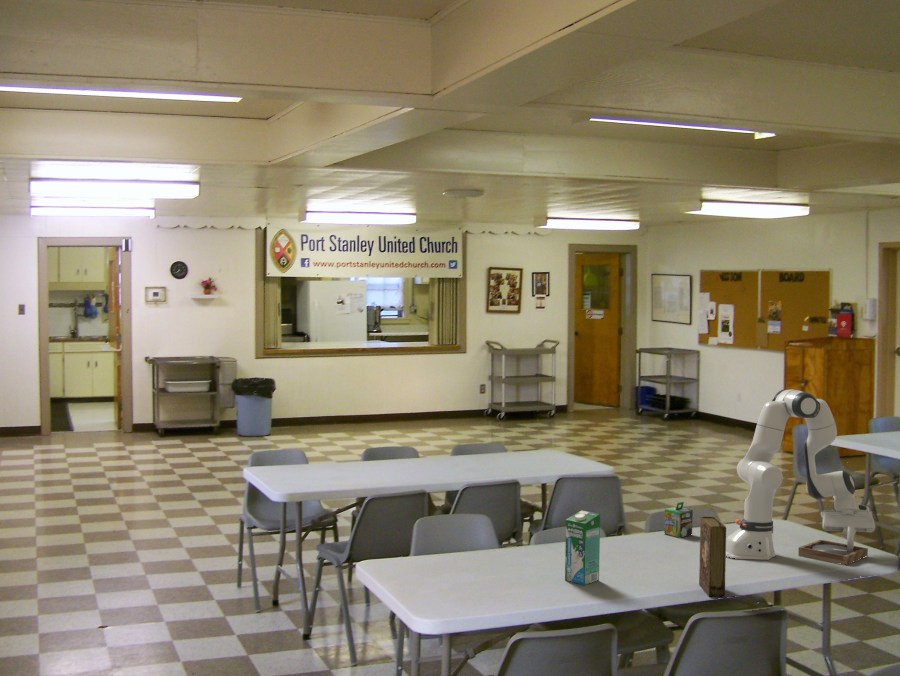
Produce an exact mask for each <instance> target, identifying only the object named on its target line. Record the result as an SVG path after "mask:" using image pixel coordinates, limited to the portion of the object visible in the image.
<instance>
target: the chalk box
mask: <svg viewBox="0 0 900 676" xmlns="http://www.w3.org/2000/svg"><path fill="white" fill-rule="evenodd" d="M684 503H685V502H684V501H681V502H677V504H676V506H672V507H669V508H665V509H664V529H663V531H664V533H665V534H664V533H663V534H664V535H666V534H668V535H667V536H670V535H671V536H670V537H674V536H676V538H678V537H681V538H685V537H684V536H686V537H689V536H688V535H691V534H692V535H693V513H694V510H693V509H689V508H685V507H684ZM692 535H691V536H692Z"/></svg>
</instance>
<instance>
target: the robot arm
mask: <svg viewBox="0 0 900 676" xmlns="http://www.w3.org/2000/svg"><path fill="white" fill-rule="evenodd" d="M790 417H793V418H800V419H804V421H805V424H806V427H807V431H808V432H807V433H808V434H807V438H806V439H805V440H804V441H803V456H804V457H803V458H804V468H805V474H806V475H805V476H806V484H805V486H806V491H807V494H808V495H809V497H811V498H813V499H814V500H821V499H825V498H830V497H833V500H834V502H833V506H834V507H833V508H834V509H825V508H824V509H823V510H821V511H820V517H821V519H822V529H823V530H824V531H828V532H829V531H830V532H842V533H843V535H844V536H845V538H847V534H848V526H852V527H854V536H855V535H856V534H857V532H858V533H874V532H875V530H876V524H875V523H876V522H875V519H874V517H873V515H872V513H871V512H870V507H869V506H866V505H863V504H861V503H859V502H858V503H857V501H856V498H855V497H856V485H855V479H854V477H853V475H852V474H851V473H849V472H848V471H846V470H837V471H832V472H827V473H821V474H820V473H817V469H816V468H817V467H816V466H817V465H816V458H815V457H816V455H817V453H819V452H820V451H822V450H824V449H825V448H827V447H829V446H830V445H831V444H832V443H833V442H834V441H835V440H836V438H837V436H838V429H837V424H836V420H835V418H834V416H833V413H832V411H831V408H830V406H829V405H828V403H827V401H826V400H824V399H822V398H816V397H815V396H814V395H813V394H811V393H809V392H805V391H802V390H799V389H790V388H785V389H781V390H779V391H777V393H776V394H775V395H774V397H773V398H772V400H770V401H767V402H765V403H764V405H763V407H762V408H761V411H760V414H759V416H758V419H757V423H756V427H755V431H754V434H753V437H752V441H751V444H750V447H749V448H748V450H747V452H746V454H745V455H744V456H743V458H741V460H739V462H738V463H737V465H736V473H737V476H738V477H739V478H740V479H741V480H742V481H743V482H745V483H746V484H749V485H750V489H749V493H748V495H747V497H745V499H744V509H743V512H744V514H743V515H744V516H743V519H742V520H740V519H739V518H738V519H737V518H736V519H735V521H734V522H735V524H736V525H739V527H738V528H737V529H736V530H735V531H734V532H732V533H730V535H728V536H726V556H727V557H726V558H728V557H730V558H729V559H732V558H735V559H734V560H762V561H764V560H767V561H768V560H771V558H774V557H775V556H776V552H775V548H774V541H773V534H774V521H773V507H774V506H773V505H774V499H775V496H776V492H777V489H778V488H779V487H780V486H781V485H782V483H783V480H784V475H783V473H782V471H781V469H780V468H779V467H778V466H777V465H775V464H773V463H771V461H772V459H773V457H774V456H775V455H776V454H777V452H779V451H780V449H781V445H782V441H783V439H784V433H785V431H786V424H787V422H788V420H789V418H790Z"/></svg>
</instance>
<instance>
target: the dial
mask: <svg viewBox="0 0 900 676" xmlns="http://www.w3.org/2000/svg"><path fill="white" fill-rule="evenodd" d="M847 533H848V534H847V537H846V544H847V547H843V546H838V545H815V546H813V547H812V549H814V550H819V551H825V552H830V553H835V554H840V555H847V554H850V553H852V552H854V550H853V547H854V546H855V545H854V543H855V541H854V540H855V535H854V527H852V526H848V531H847Z"/></svg>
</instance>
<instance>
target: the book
mask: <svg viewBox="0 0 900 676" xmlns="http://www.w3.org/2000/svg"><path fill="white" fill-rule="evenodd" d="M699 523H700V530H699V533H700V534H699V571H698V573H699V574H698V576H699V578H698V582H699V583H698V585H699V587H700V588H701V589H702V590H703V592H704V593H705V594H706V595H707V596H708V597H711V596H716V597H717V596H718V597H725V596H726V567H727V565H726V560H727V559H726V558H727V557H726V538H727V526H726V525H725V524H724V523H722V521H720V520H719V519H718V518H717V517H716V516H701V517H700V522H699Z"/></svg>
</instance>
